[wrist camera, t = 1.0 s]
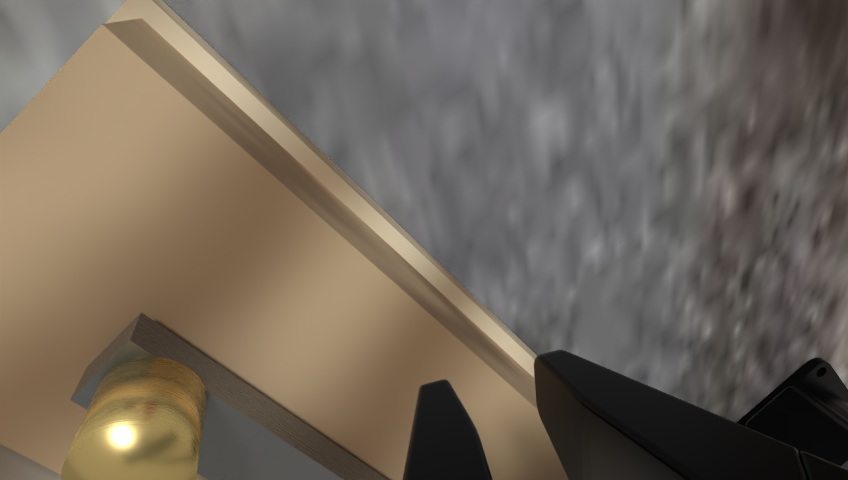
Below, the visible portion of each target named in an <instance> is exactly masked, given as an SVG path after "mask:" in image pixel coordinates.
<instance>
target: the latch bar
mask: <svg viewBox="0 0 848 480" xmlns="http://www.w3.org/2000/svg"><path fill="white" fill-rule="evenodd" d="M70 400H71V401H73V402H74V403H76V404H78V405H80V406H81V407H83V408H85V409H86V410H87V412H86V414H85V416H84V419H83V421H82V423H81V425H80V428H79V430H78V432H77V434H76V437H75V439H74V441H73V443H72V446H71V448H70V450H69V452H68V455H67V457H66V459H65V461H64V464H63V467H62V471H61V480H196V474H199V475H201V476H202V477H204V478H206V479H208V480H387V479H386V478H384V477H383V476H381V475H380V474H378V473H377V472H375V471H374V470H372V469H371V468H369V467H368V466H366V465H365V464H364V463H362V462H361V461H359V460H358V459H356V458H355V457H353V456H352V455H350V454H349V453H347V452H346V451H344V450H343V449H342V448H340V447H339V446H337V445H336V444H334V443H333V442H331V441H330V440H328V439H327V438H325V437H324V436H322V435H321V434H319V433H318V432H317V431H315V430H314V429H312V428H311V427H309V426H308V425H306V424H305V423H303V422H302V421H300V420H299V419H297V418H296V417H295V416H293V415H292V414H290V413H289V412H287V411H286V410H284V409H283V408H281V407H280V406H278V405H277V404H275V403H274V402H272V401H271V400H270V399H268V398H267V397H265V396H264V395H262V394H261V393H259V392H258V391H256V390H255V389H253V388H252V387H250V386H249V385H248V384H246V383H245V382H243V381H242V380H240V379H239V378H237V377H236V376H234V375H233V374H231V373H230V372H228V371H227V370H226V369H224V368H223V367H221V366H220V365H218V364H217V363H215V362H214V361H212V360H211V359H209V358H208V357H206V356H205V355H203V354H202V353H201V352H199V351H198V350H196V349H195V348H193V347H192V346H190V345H189V344H187V343H186V342H184V341H183V340H181V339H180V338H179V337H177V336H176V335H174V334H173V333H171V332H170V331H168V330H167V329H165V328H164V327H162V326H161V325H159V324H158V323H156V322H155V321H154V320H152V319H151V318H149V317H148V316H146V315H145V314H143V313H142V312H141V313H140V314H139V315H138V316H137V317H136V318H135V319H134V320H133V321H132V322H131V323H130V324H129V325H128V326H127V327H126V328H125V329H124V330H123V331H122V332H121V333H120V334H119V335H118V336H117V337H116V338H115V339H114V340H113V341H112V342H111V343H110V344H109V345H108V346H107V347H106V348H105V349H104V350H103V351H102V352H101V353H100V354H99V355H98V356H97V357H96V358H95V359H94V360H93V361H92V362H91V363H90V364H89V365H88V366H87V367H86V369H85V371H84V373H83V375H82V377H81V379H80V381H79V383H78V385H77V387H76V389H75V391H74V393H73V395H72V397H71V399H70Z"/></svg>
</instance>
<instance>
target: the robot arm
mask: <svg viewBox="0 0 848 480" xmlns="http://www.w3.org/2000/svg"><path fill="white" fill-rule="evenodd" d="M534 377H535V391H536V404H537V409H538V413H539V416H540V418H541V421H542V423H543V425H544V427H545V429H546V432H547V434H548V436H549V438H550V440H551V442H552V445H553V447H554V449H555V451H556V453H557V455H558V458H559V460H560V462H561V464H562V466H563V468H564V471H565V473H566V475H567V477H568V479H569V480H848V389H847V388H846V386H845V385H844V384H843V382H842V381H841V379H840V378H839V376H838V375H837V374H836V372H835V371H834V369H833V368H832V366H831V365H830V364H829V363H827V362H826V361H824V360H823V359H821V358H814V359H812V360H811V361H809V362H808V363H807V364H806V365H805V366H804V367H802V368H801V369H800V370H799V371H798V372H797V373H795V374H794V375H793V376H792V377H791V378H790V379H789V380H787V381H786V382H785V383H784V384H783V385H782V386H780V387H779V388H778V389H777V390H776V391H775V392H774V393H772V394H771V395H770V396H769V397H768V398H767V399H765V400H764V401H763V402H762V403H761V404H760V405H759V406H757V407H756V408H755V409H754V410H753V411H752V412H750V413H749V414H748V415H747V416H746V417H745V418H744V419H742V420H741V421H740V422H739V423H735V422H733V421H731V420H728V419H726V418H723V417H721V416H719V415H716V414H714V413H712V412H709V411H707V410H704V409H702V408H700V407H697V406H695V405H693V404H690V403H688V402H685V401H683V400H681V399H678V398H676V397H674V396H671V395H669V394H666V393H664V392H662V391H659V390H657V389H655V388H652V387H650V386H647V385H645V384H643V383H640V382H638V381H636V380H633V379H631V378H629V377H626V376H624V375H621V374H619V373H617V372H614V371H612V370H610V369H607V368H605V367H602V366H600V365H598V364H595V363H593V362H591V361H588V360H586V359H583V358H581V357H579V356H576V355H574V354H572V353H569V352H567V351H564V350H557V351H553V352H549V353H545V354H541V355H538V356H537V357H536V358H535V360H534ZM403 480H493V479H492V476H491V473H490V469H489V466H488V463H487V459H486V456H485V453H484V449H483V446H482V443H481V440H480V437H479V434H478V432H477V429H476V427H475V425H474V423H473V421H472V420H471V418H470V416H469V414H468V413H467V411H466V409H465V408H464V406H463V404H462V402H461V401H460V399H459V397H458V396H457V394H456V392H455V391H454V389H453V387H452V385H451V384H450V382H449V381H448V380H446V379H442V380H438V381H434V382H430V383H426V384H423V385H421V386H420V388H419V390H418V396H417V401H416V407H415V413H414V418H413V424H412V429H411V435H410V440H409V446H408V452H407V457H406V463H405V468H404V474H403Z"/></svg>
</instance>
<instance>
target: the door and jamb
mask: <svg viewBox="0 0 848 480" xmlns="http://www.w3.org/2000/svg"><path fill="white" fill-rule="evenodd" d="M141 312H142V313H143V314H145V315H146V316H148V317H149V318H151V319H152V320H154V321H155V322H156V323H158V324H159V325H161V326H162V327H164V328H165V329H167V330H168V331H170V332H171V333H173V334H174V335H176V336H177V337H179V338H180V339H181V340H183V341H184V342H186V343H187V344H189V345H190V346H192V347H193V348H195V349H196V350H198V351H199V352H201V353H202V354H203V355H205V356H206V357H208V358H209V359H211V360H212V361H214V362H215V363H217V364H218V365H220V366H221V367H223V368H224V369H226V370H227V371H228V372H230V373H231V374H233V375H234V376H236V377H237V378H239V379H240V380H242V381H243V382H245V383H246V384H248V385H249V386H250V387H252V388H253V389H255V390H256V391H258V392H259V393H261V394H262V395H264V396H265V397H267V398H268V399H270V400H271V401H272V402H274V403H275V404H277V405H278V406H280V407H281V408H283V409H284V410H286V411H287V412H289V413H290V414H292V415H293V416H295V417H296V418H297V419H299V420H300V421H302V422H303V423H305V424H306V425H308V426H309V427H311V428H312V429H314V430H315V431H317V432H318V433H319V434H321V435H322V436H324V437H325V438H327V439H328V440H330V441H331V442H333V443H334V444H336V445H337V446H339V447H340V448H342V449H343V450H344V451H346V452H347V453H349V454H350V455H352V456H353V457H355V458H356V459H358V460H359V461H361V462H362V463H364V464H365V465H366V466H368V467H369V468H371V469H372V470H374V471H375V472H377V473H378V474H380V475H381V476H383V477H384V478H386V479H387V480H403V474H404V468H405V463H406V457H407V452H408V446H409V440H410V435H411V429H412V424H413V418H414V413H415V407H416V401H417V396H418V390H419V388H420V386H421V385H423V384H426V383H430V382H434V381H438V380H442V379H446V380H448V381H449V382H450V384H451V385H452V387H453V389H454V391H455V392H456V394H457V396H458V397H459V399H460V401H461V402H462V404H463V406H464V408H465V409H466V411H467V413H468V414H469V416H470V418H471V420H472V421H473V423H474V425H475V427H476V429H477V432H478V434H479V437H480V440H481V443H482V446H483V449H484V453H485V456H486V459H487V463H488V466H489V469H490V473H491V476H492V479H493V480H569V479H568V477H567V475H566V473H565V471H564V468H563V466H562V464H561V462H560V460H559V458H558V455H557V453H556V451H555V449H554V447H553V445H552V442H551V440H550V438H549V436H548V434H547V432H546V429H545V427H544V425H543V423H542V421H541V418H540V416H539V413H538V409H537V404H536V391H535V377H534V360H535V358H536V357H537V355H536V354H535V353H534V352H533V351H532V350H531V349H529V348H528V347H527V346H526V345H525V344H524V343H523V342H522V341H521V340H520V339H519V338H518V337H517V336H516V335H515V334H514V333H513V332H512V331H510V330H509V329H508V328H507V327H506V326H505V325H504V324H503V323H502V322H501V321H500V320H499V319H498V318H497V317H496V316H495V315H494V314H493V313H491V312H490V311H489V310H488V309H487V308H486V307H485V306H484V305H483V304H482V303H481V302H480V301H479V300H478V299H477V298H476V297H475V296H474V295H472V294H471V293H470V292H469V291H468V290H467V289H466V288H465V287H464V286H463V285H462V284H461V283H460V282H459V281H458V280H457V279H456V278H455V277H453V276H452V275H451V274H450V273H449V272H448V271H447V270H446V269H445V268H444V267H443V266H442V265H441V264H440V263H439V262H438V261H437V260H436V259H434V258H433V257H432V256H431V255H430V254H429V253H428V252H427V251H426V250H425V249H424V248H423V247H422V246H421V245H420V244H419V243H418V242H417V241H415V240H414V239H413V238H412V237H411V236H410V235H409V234H408V233H407V232H406V231H405V230H404V229H403V228H402V227H401V226H400V225H399V224H397V223H396V222H395V221H394V220H393V219H392V218H391V217H390V216H389V215H388V214H387V213H386V212H385V211H384V210H383V209H382V208H381V207H380V206H378V205H377V204H376V203H375V202H374V201H373V200H372V199H371V198H370V197H369V196H368V195H367V194H366V193H365V192H364V191H363V190H362V189H361V188H359V187H358V186H357V185H356V184H355V183H354V182H353V181H352V180H351V179H350V178H349V177H348V176H347V175H346V174H345V173H344V172H343V171H342V170H340V169H339V168H338V167H337V166H336V165H335V164H334V163H333V162H332V161H331V160H330V159H329V158H328V157H327V156H326V155H325V154H324V153H323V152H321V151H320V150H319V149H318V148H317V147H316V146H315V145H314V144H313V143H312V142H311V141H310V140H309V139H308V138H307V137H306V136H305V135H304V134H302V133H301V132H300V131H299V130H298V129H297V128H296V127H295V126H294V125H293V124H292V123H291V122H290V121H289V120H288V119H287V118H286V117H285V116H283V115H282V114H281V113H280V112H279V111H278V110H277V109H276V108H275V107H274V106H273V105H272V104H271V103H270V102H269V101H268V100H267V99H266V98H264V97H263V96H262V95H261V94H260V93H259V92H258V91H257V90H256V89H255V88H254V87H253V86H252V85H251V84H250V83H249V82H248V81H247V80H245V79H244V78H243V77H242V76H241V75H240V74H239V73H238V72H237V71H236V70H235V69H234V68H233V67H232V66H231V65H230V64H229V63H228V62H226V61H225V60H224V59H223V58H222V57H221V56H220V55H219V54H218V53H217V52H216V51H215V50H214V49H213V48H212V47H211V46H210V45H209V44H207V43H206V42H205V41H204V40H203V39H202V38H201V37H200V36H199V35H198V34H197V33H196V32H195V31H194V30H193V29H192V28H191V27H189V26H188V25H187V24H186V23H185V22H184V21H183V20H182V19H181V18H180V17H179V16H178V15H177V14H176V13H175V12H174V11H173V10H172V9H170V8H169V7H168V6H167V5H166V4H165V3H164V2H163V1H162V0H126V1H125V2H124V3H123V5H122V6H121V7H120V8H119V9H118V10H117V11H116V12H115V13H114V14H113V15H112V16H111V18H110V19H109V20H108V21H107V22H106V23H105V24H101V26H100V27H99V28H98V29H97V30H96V31H95V32H94V33H93V34H92V35H91V36H90V37H89V39H88V40H87V41H86V42H85V43H84V44H83V45H82V46H81V47H80V48H79V49H78V50H77V51H76V53H75V54H74V55H73V56H72V57H71V58H70V59H69V60H68V61H67V62H66V63H65V64H64V66H63V67H62V68H61V69H60V70H59V71H58V72H57V73H56V74H55V75H54V76H53V77H52V78H51V80H50V81H49V82H48V83H47V84H46V85H45V86H44V87H43V88H42V89H41V90H40V91H39V93H38V94H37V95H36V96H35V97H34V98H33V99H32V100H31V101H30V102H29V103H28V104H27V105H26V107H25V108H24V109H23V110H22V111H21V112H20V113H19V114H18V115H17V116H16V117H15V118H14V120H13V121H12V122H11V123H10V124H9V125H8V126H7V127H6V128H5V129H4V130H3V131H2V132H1V134H0V480H61V471H62V467H63V464H64V461H65V459H66V457H67V455H68V452H69V450H70V448H71V446H72V443H73V441H74V439H75V437H76V434H77V432H78V430H79V428H80V425H81V423H82V421H83V419H84V416H85V414H86V412H87V410H86V409H85V408H83V407H81V406H80V405H78V404H76V403H74V402H73V401H71V400H70V399H71V397H72V395H73V393H74V391H75V389H76V387H77V385H78V383H79V381H80V379H81V377H82V375H83V373H84V371H85V369H86V367H87V366H88V365H89V364H90V363H91V362H92V361H93V360H94V359H95V358H96V357H97V356H98V355H99V354H100V353H101V352H102V351H103V350H104V349H105V348H106V347H107V346H108V345H109V344H110V343H111V342H112V341H113V340H114V339H115V338H116V337H117V336H118V335H119V334H120V333H121V332H122V331H123V330H124V329H125V328H126V327H127V326H128V325H129V324H130V323H131V322H132V321H133V320H134V319H135V318H136V317H137V316H138V315H139V314H140V313H141ZM196 480H208V479H206V478H204V477H202V476H201V475H199V474H196Z"/></svg>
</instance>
